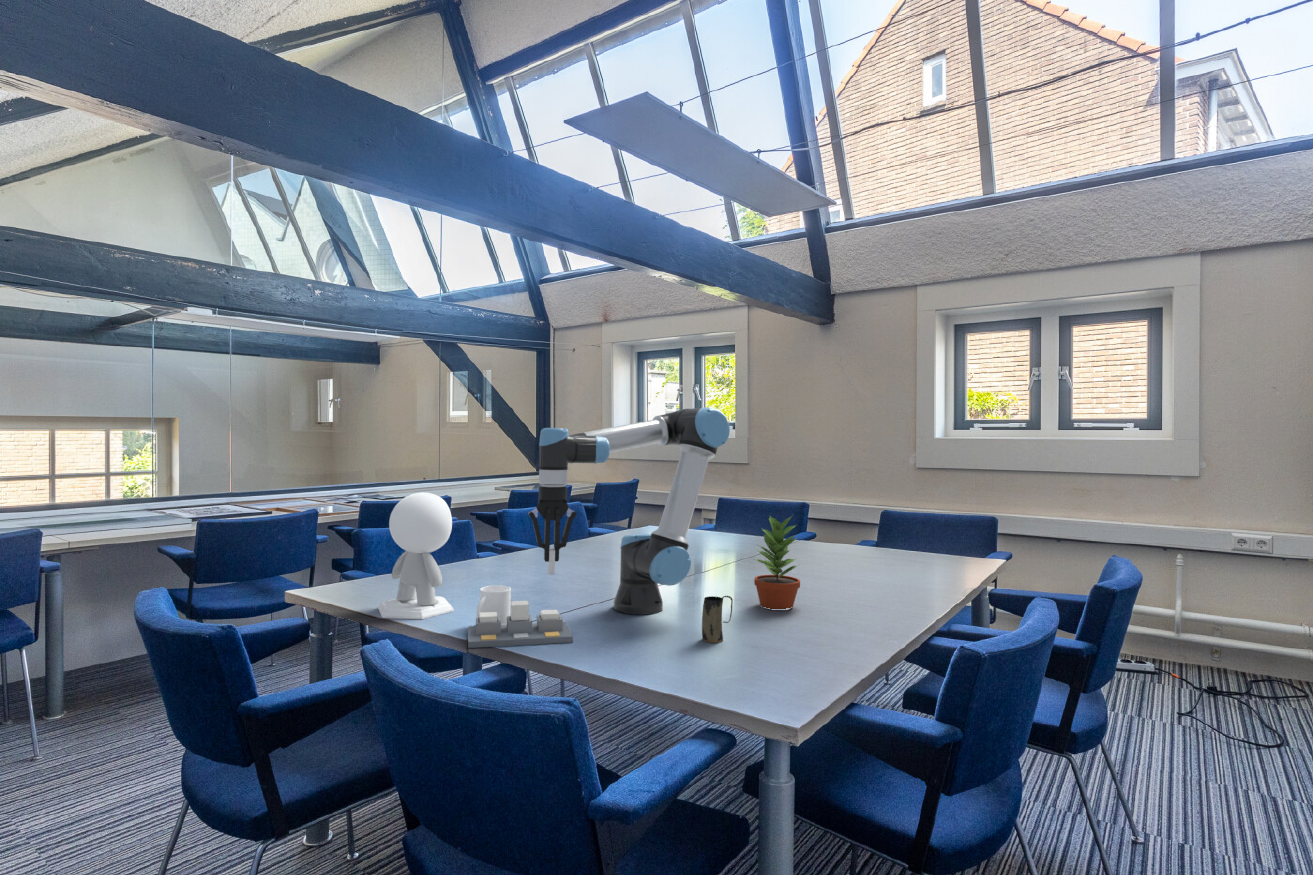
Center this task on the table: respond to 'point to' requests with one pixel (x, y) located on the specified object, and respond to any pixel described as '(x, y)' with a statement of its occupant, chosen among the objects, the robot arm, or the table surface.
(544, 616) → the button
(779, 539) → the potted plant
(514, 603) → the button
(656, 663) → the table surface
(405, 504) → the white toy figurine
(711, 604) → the mug
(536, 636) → the board
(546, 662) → the table surface
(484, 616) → the button
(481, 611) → the mug
